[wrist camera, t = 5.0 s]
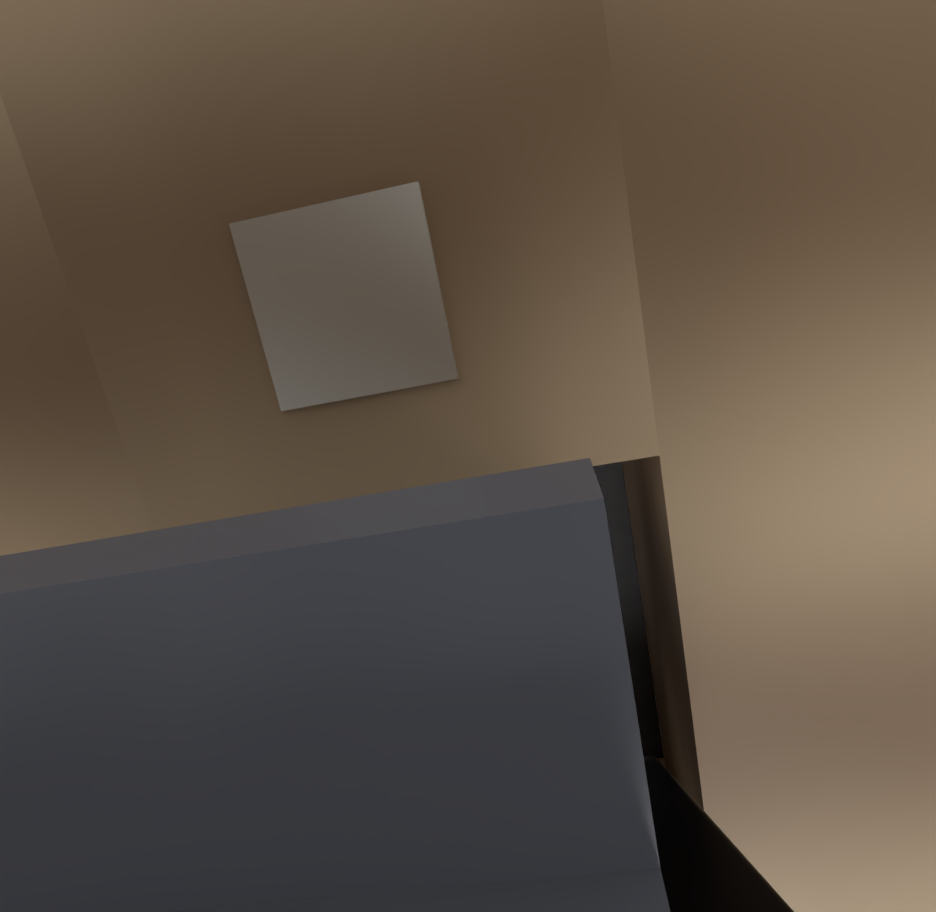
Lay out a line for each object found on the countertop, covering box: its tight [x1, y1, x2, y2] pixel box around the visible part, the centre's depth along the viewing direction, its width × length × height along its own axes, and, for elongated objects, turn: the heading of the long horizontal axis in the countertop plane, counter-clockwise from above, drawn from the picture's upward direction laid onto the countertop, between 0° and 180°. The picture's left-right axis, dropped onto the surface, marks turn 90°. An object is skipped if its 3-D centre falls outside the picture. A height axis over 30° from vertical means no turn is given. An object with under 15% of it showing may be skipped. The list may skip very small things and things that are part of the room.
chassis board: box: [0, 0, 936, 912], centre depth 11 cm, size 20×14×4 cm
